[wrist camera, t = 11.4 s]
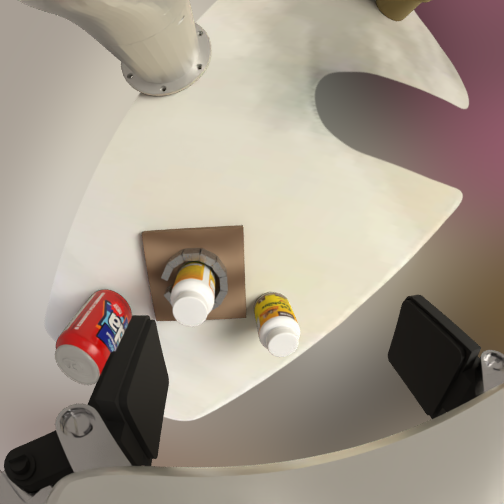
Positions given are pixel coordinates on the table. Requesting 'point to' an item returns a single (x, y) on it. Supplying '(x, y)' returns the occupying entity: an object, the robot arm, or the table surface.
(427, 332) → the robot arm
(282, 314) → the supplement bottle
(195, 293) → the supplement bottle
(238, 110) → the table surface
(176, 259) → the steel ring
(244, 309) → the base plate
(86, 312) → the soda can
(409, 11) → the cork
